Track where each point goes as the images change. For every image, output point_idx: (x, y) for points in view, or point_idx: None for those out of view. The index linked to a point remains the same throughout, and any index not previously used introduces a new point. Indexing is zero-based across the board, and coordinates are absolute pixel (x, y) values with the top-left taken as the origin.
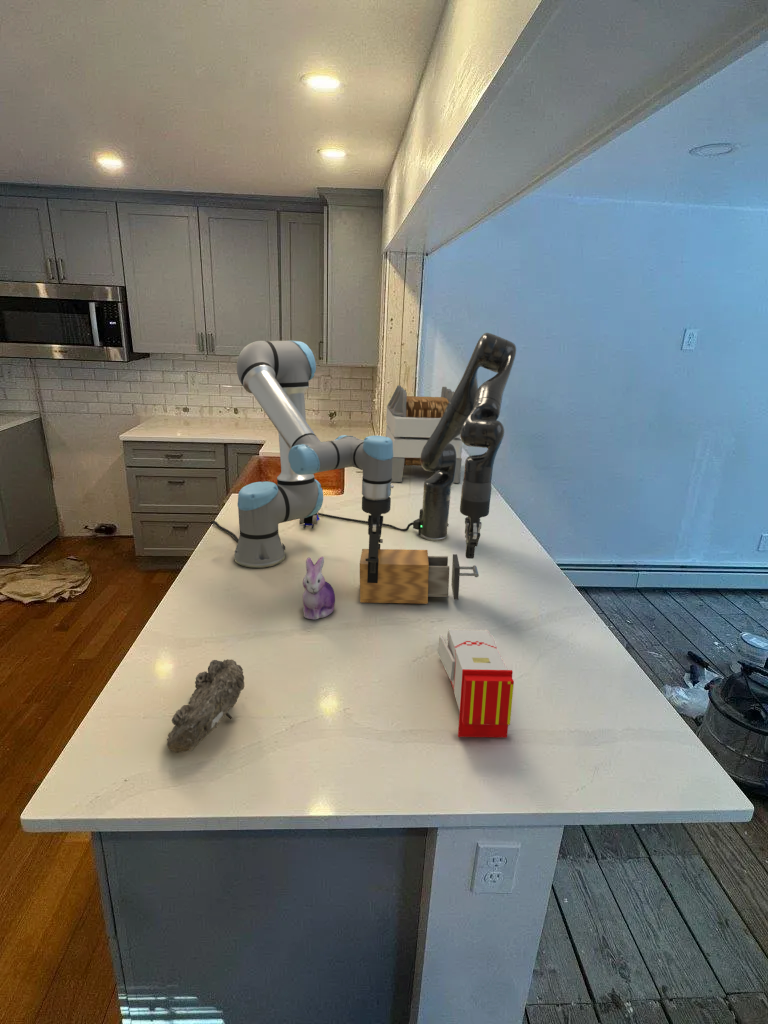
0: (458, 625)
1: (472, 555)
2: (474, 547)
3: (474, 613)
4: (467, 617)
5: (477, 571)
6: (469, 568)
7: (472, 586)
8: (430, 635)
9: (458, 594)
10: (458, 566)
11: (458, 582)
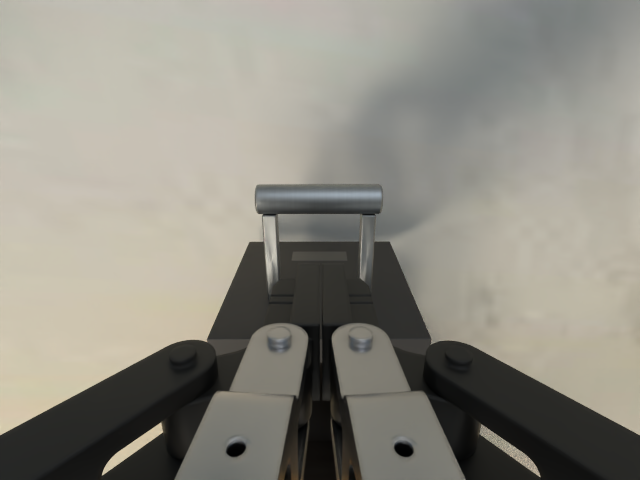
0: (523, 238)
1: (370, 293)
2: (351, 319)
3: (434, 167)
4: (466, 199)
5: (344, 192)
6: (278, 231)
7: (186, 149)
8: (577, 329)
9: (394, 253)
10: (410, 345)
11: (407, 286)
